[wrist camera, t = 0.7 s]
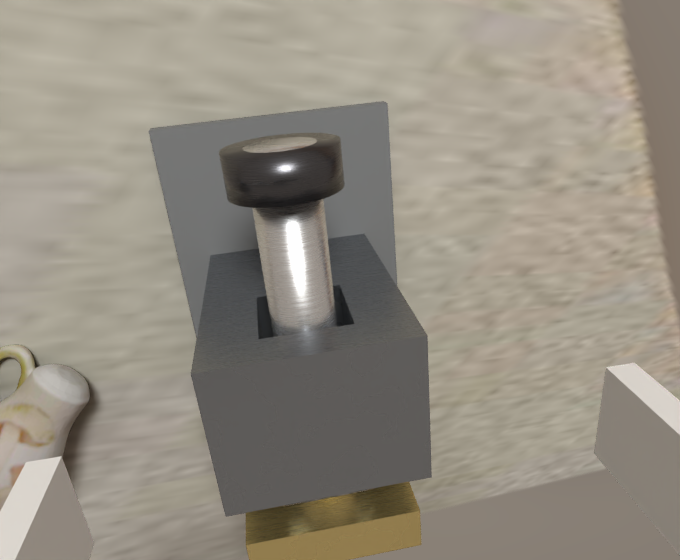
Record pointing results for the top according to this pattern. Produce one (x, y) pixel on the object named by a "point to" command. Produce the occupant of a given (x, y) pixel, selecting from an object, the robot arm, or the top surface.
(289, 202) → the shaft
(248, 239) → the mat
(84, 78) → the top surface
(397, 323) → the bearing block
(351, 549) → the block
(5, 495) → the mug
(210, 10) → the top surface
